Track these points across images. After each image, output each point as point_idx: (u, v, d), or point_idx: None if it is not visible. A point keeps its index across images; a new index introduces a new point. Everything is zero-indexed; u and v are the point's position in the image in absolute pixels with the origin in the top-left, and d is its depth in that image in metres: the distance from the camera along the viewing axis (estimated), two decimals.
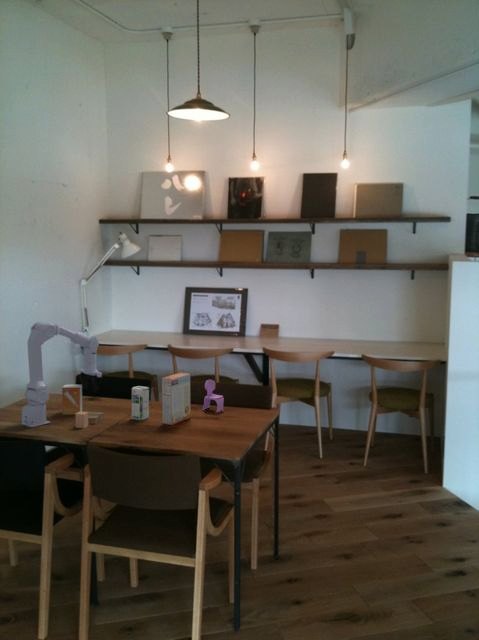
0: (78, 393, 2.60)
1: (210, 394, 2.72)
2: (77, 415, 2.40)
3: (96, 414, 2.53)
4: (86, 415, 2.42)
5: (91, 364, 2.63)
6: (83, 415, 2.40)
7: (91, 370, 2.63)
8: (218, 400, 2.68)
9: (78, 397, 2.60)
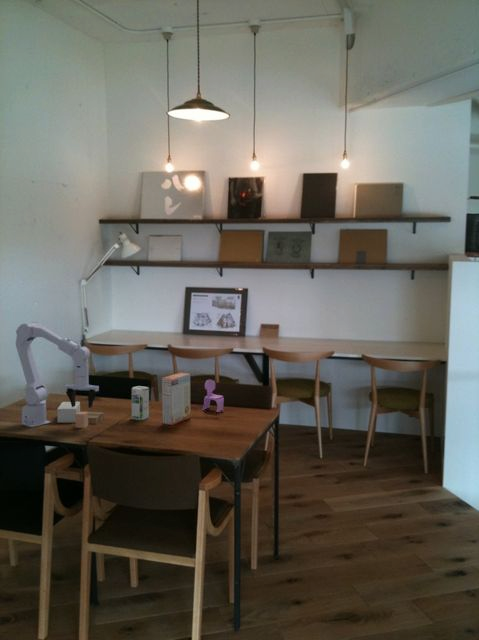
0: None
1: (210, 394, 2.72)
2: (77, 415, 2.40)
3: (96, 414, 2.53)
4: (86, 415, 2.42)
5: (86, 378, 2.39)
6: (83, 415, 2.40)
7: (86, 385, 2.39)
8: (218, 400, 2.68)
9: None
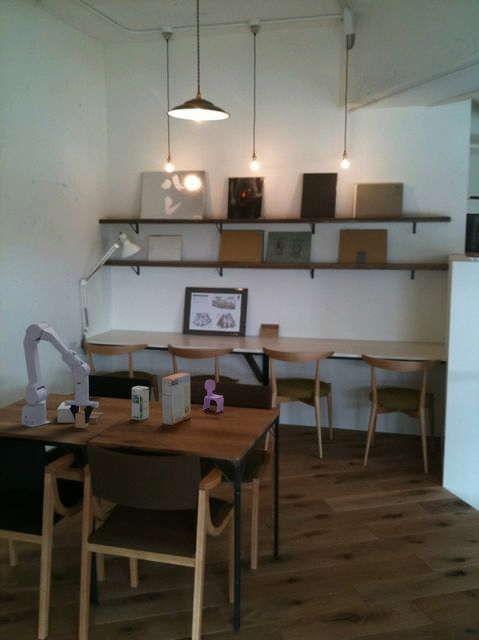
0: None
1: (210, 394, 2.72)
2: (77, 415, 2.40)
3: (96, 414, 2.53)
4: None
5: (86, 394, 2.40)
6: (83, 415, 2.40)
7: (86, 401, 2.40)
8: (218, 400, 2.68)
9: None
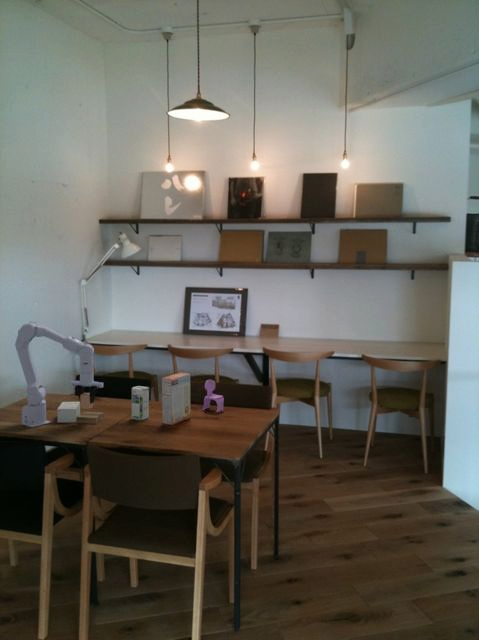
0: None
1: (210, 394, 2.72)
2: (82, 396, 2.45)
3: (96, 414, 2.53)
4: None
5: (91, 375, 2.45)
6: (88, 396, 2.45)
7: (91, 381, 2.45)
8: (218, 400, 2.68)
9: None
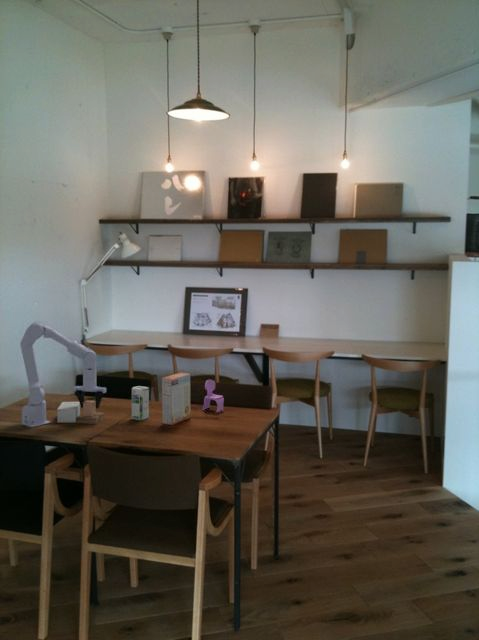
0: None
1: (210, 394, 2.72)
2: (85, 404, 2.49)
3: (96, 414, 2.53)
4: (93, 404, 2.51)
5: (94, 380, 2.49)
6: (90, 404, 2.49)
7: (94, 386, 2.49)
8: (218, 400, 2.68)
9: None
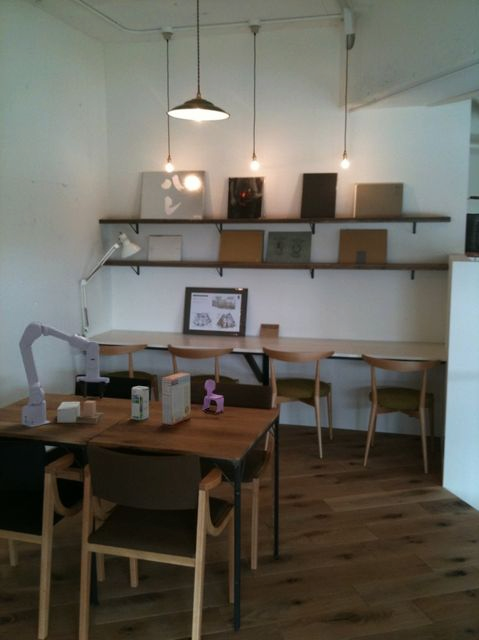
0: None
1: (210, 394, 2.72)
2: (85, 404, 2.49)
3: (96, 414, 2.53)
4: (94, 404, 2.51)
5: (97, 370, 2.49)
6: (91, 404, 2.49)
7: (97, 376, 2.49)
8: (218, 400, 2.68)
9: None
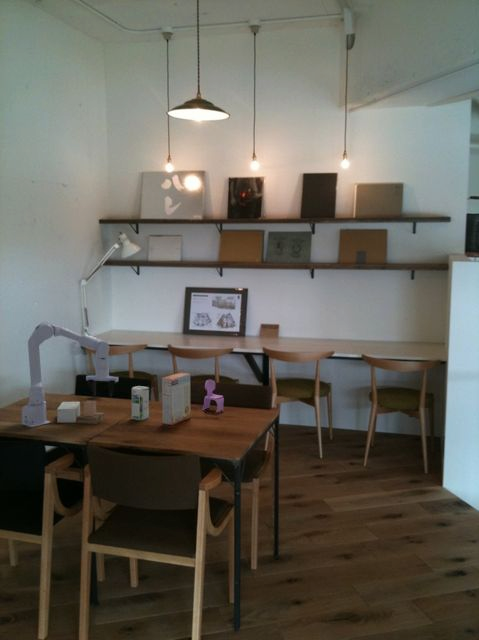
0: None
1: (210, 394, 2.72)
2: (85, 404, 2.49)
3: (96, 414, 2.53)
4: (94, 404, 2.51)
5: (106, 369, 2.52)
6: (91, 404, 2.49)
7: (106, 375, 2.53)
8: (218, 400, 2.68)
9: None
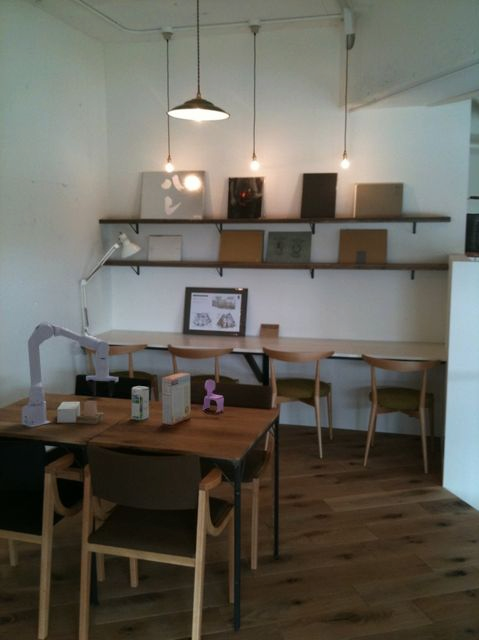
0: None
1: (210, 394, 2.72)
2: (86, 404, 2.49)
3: (96, 414, 2.53)
4: (94, 404, 2.51)
5: (106, 369, 2.52)
6: (91, 404, 2.49)
7: (106, 375, 2.53)
8: (218, 400, 2.68)
9: None
